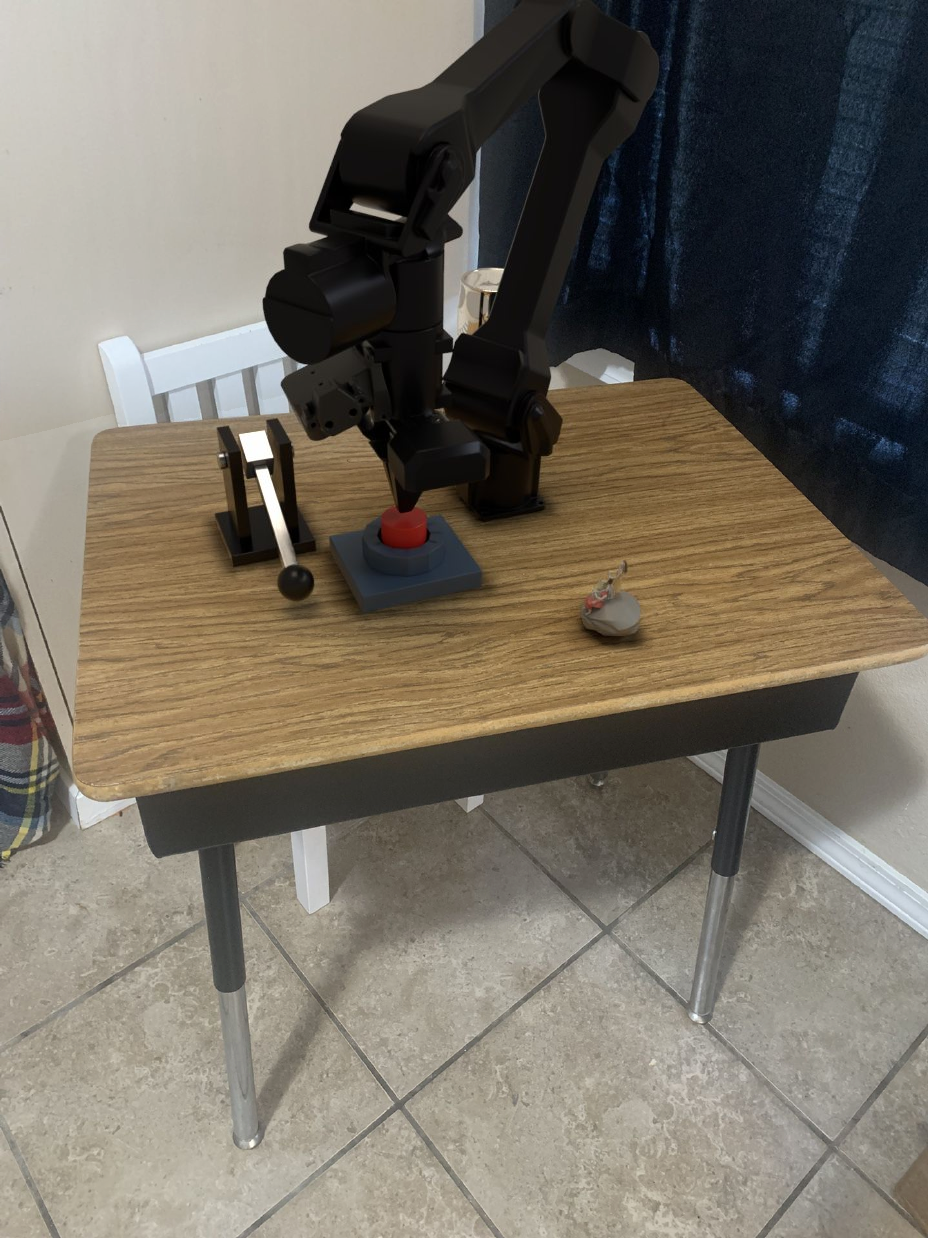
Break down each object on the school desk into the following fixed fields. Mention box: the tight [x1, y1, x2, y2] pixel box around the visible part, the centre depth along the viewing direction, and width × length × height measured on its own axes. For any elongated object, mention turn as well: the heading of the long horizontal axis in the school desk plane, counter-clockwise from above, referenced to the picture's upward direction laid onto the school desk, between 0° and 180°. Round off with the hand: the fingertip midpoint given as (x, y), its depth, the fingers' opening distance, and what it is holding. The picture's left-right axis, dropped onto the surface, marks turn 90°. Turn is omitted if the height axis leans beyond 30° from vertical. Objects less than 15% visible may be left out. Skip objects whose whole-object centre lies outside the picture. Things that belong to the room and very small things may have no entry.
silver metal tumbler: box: [456, 267, 504, 338], centre depth 97 cm, size 7×7×15 cm
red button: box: [380, 505, 428, 549], centre depth 78 cm, size 4×4×2 cm
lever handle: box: [237, 429, 316, 602], centre depth 76 cm, size 15×3×3 cm, turn 23°
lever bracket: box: [214, 417, 317, 568], centre depth 80 cm, size 7×7×10 cm
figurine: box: [580, 559, 642, 637], centre depth 73 cm, size 5×4×6 cm
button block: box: [328, 514, 483, 614], centre depth 79 cm, size 10×9×4 cm
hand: (404, 510), depth 77 cm, fingers closed
